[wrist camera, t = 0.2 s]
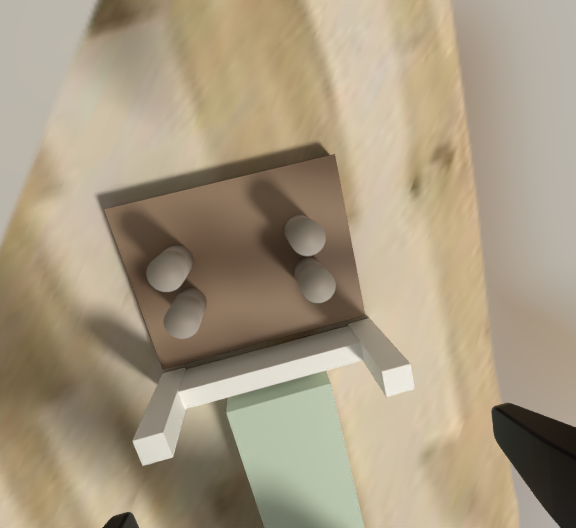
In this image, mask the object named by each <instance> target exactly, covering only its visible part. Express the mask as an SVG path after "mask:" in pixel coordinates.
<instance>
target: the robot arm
mask: <svg viewBox="0 0 576 528" xmlns="http://www.w3.org/2000/svg"><path fill="white" fill-rule="evenodd" d="M492 422H493V431H494V436H495V439H496V441H497V443H498V445H499V446H500V448H501V449H502V450H503V452H504V453H505V455H506V456H507V457H508V459H509V460H510V462H511V463H512V464H513V466H514V467H515V469H516V470H517V471H518V473H519V474H520V475H521V477H522V478H523V480H524V481H525V483H526V484H527V485H528V487H529V488H530V489H531V491H532V492H533V494H534V495H535V496H536V498H537V499H538V500H539V502H540V503H541V504H542V506H543V507H544V508H545V510H546V511H547V512H548V513H549V514H550V516H551V517H552V518H553V519H554V520H555V522H556V523H557V524H558V525H559V526H560V528H576V427H573V426H571V425H568V424H565V423H563V422H560V421H557V420H554V419H552V418H549V417H546V416H544V415H541V414H538V413H535V412H533V411H530V410H527V409H525V408H522V407H520V406H517V405H514V404H511V403H504V404H500V405H497V406H494V407H493V408H492ZM103 528H139V526H138V524H137V522H136V520H135V517H134V515H133V514H132V513H131V512H126V513H122V514H119V515H115V516H113V517H112V518H111V519H110V520H109V521H108V522H107V523H106V524H105V525H104V527H103Z"/></svg>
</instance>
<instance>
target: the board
mask: <svg viewBox="0 0 576 528" xmlns="http://www.w3.org/2000/svg"><path fill="white" fill-rule="evenodd" d="M226 414H227V417H228V420H229V423H230V426H231V429H232V432H233V435H234V438H235V441H236V444H237V447H238V450H239V453H240V456H241V459H242V462H243V465H244V468H245V471H246V474H247V477H248V480H249V483H250V486H251V489H252V492H253V495H254V498H255V501H256V504H257V507H258V510H259V513H260V517H261V520H262V523H263V526H264V528H364V524H363V520H362V515H361V511H360V507H359V502H358V498H357V494H356V489H355V485H354V481H353V477H352V472H351V468H350V464H349V459H348V455H347V451H346V446H345V442H344V438H343V433H342V429H341V425H340V421H339V416H338V412H337V408H336V403H335V399H334V395H333V390H332V386H331V382H330V380H329V378H328V375H327V373H326V371H322V372H319V373H315V374H311V375H308V376H304V377H300V378H297V379H293V380H289V381H286V382H282V383H279V384H275V385H271V386H268V387H264V388H260V389H257V390H253V391H249V392H246V393H242V394H239V395H235V396H231V397H228V398H227V409H226Z"/></svg>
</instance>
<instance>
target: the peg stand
mask: <svg viewBox="0 0 576 528" xmlns="http://www.w3.org/2000/svg"><path fill="white" fill-rule="evenodd" d="M104 211H105V214H106V217H107V219H108V222H109V225H110V227H111V230H112V233H113V236H114V238H115V241H116V244H117V246H118V249H119V252H120V255H121V257H122V260H123V263H124V266H125V268H126V271H127V274H128V276H129V279H130V282H131V285H132V287H133V290H134V293H135V295H136V298H137V301H138V304H139V306H140V309H141V312H142V314H143V317H144V320H145V323H146V325H147V328H148V331H149V334H150V336H151V339H152V342H153V344H154V347H155V350H156V353H157V355H158V358H159V361H160V363H161V366H162V369H166V368H170V367H174V366H178V365H181V364H185V363H189V362H193V361H196V360H200V359H204V358H207V357H211V356H215V355H219V354H222V353H226V352H230V351H234V350H237V349H241V348H245V347H249V346H252V345H256V344H260V343H263V342H267V341H271V340H275V339H278V338H282V337H286V336H290V335H293V334H297V333H301V332H305V331H308V330H312V329H316V328H320V327H323V326H327V325H331V324H334V323H338V322H342V321H346V320H349V319H353V318H357V317H361V316H364V315H365V311H364V306H363V301H362V295H361V290H360V285H359V280H358V274H357V269H356V264H355V258H354V253H353V248H352V242H351V237H350V232H349V227H348V221H347V216H346V211H345V205H344V200H343V195H342V189H341V184H340V179H339V174H338V168H337V163H336V158H335V154H333V155H329V156H325V157H321V158H316V159H312V160H308V161H304V162H300V163H296V164H291V165H287V166H283V167H279V168H275V169H271V170H266V171H262V172H258V173H254V174H250V175H246V176H241V177H237V178H233V179H229V180H225V181H220V182H216V183H212V184H208V185H204V186H200V187H195V188H191V189H187V190H183V191H179V192H175V193H170V194H166V195H162V196H158V197H154V198H150V199H145V200H141V201H137V202H133V203H129V204H125V205H120V206H116V207H112V208H108V209H104Z"/></svg>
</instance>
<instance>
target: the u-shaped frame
mask: <svg viewBox="0 0 576 528" xmlns="http://www.w3.org/2000/svg"><path fill="white" fill-rule="evenodd" d="M362 360H363V362H364V363H365V365H366V366H367V368H368V369H369V371H370V372H371V374H372V375H373V377H374V379H375V380H376V382H377V383H378V385H379V386H380V388H381V389H382V391H383V392H384V394H385V396H386V397H389V396H392V395H396V394H399V393H403V392H407V391H410V390H414V383H413V377H412V370H411V364H410V363H409V362H408V360H407V359H406V358H405V357H404V356H403V355H402V354H401V353H400V351H399V350H398V349H397V348H396V347H395V346H394V345H393V344H392V343H391V341H390V340H389V339H388V338H387V337H386V336H385V335H384V334H383V333H382V331H381V330H380V329H379V328H378V327H377V326H376V325H375V324H374V323H373V321H372V320H371V319H370V318H367V319H363V320H360V321H356V322H352V323H349V324H348V326H345V327H342V328H338V329H334V330H330V331H327V332H323V333H319V334H316V335H312V336H308V337H304V338H301V339H297V340H293V341H289V342H286V343H282V344H278V345H275V346H271V347H267V348H263V349H260V350H256V351H252V352H249V353H245V354H241V355H237V356H234V357H230V358H226V359H222V360H219V361H215V362H211V363H208V364H204V365H200V366H196V367H193V368H189V369H186V368H181V369H177V370H173V371H170V372H166V373H162V376H161V378H160V380H159V382H158V385H157V387H156V389H155V391H154V393H153V396H152V398H151V400H150V402H149V405H148V407H147V409H146V411H145V414H144V416H143V418H142V420H141V423H140V425H139V427H138V429H137V432H136V434H135V436H134V438H133V440H132V441H133V444H134V446H135V449H136V451H137V453H138V456H139V458H140V461H141V463H142V465H143V466H144V465H148V464H151V463H155V462H158V461H162V460H166V459H169V458H173V456H174V452H175V448H176V445H177V441H178V437H179V434H180V430H181V426H182V423H183V419H184V415H185V412H186V409H188V408H191V407H195V406H199V405H202V404H206V403H209V402H213V401H217V400H220V399H224V398H228V397H231V396H235V395H239V394H242V393H246V392H249V391H253V390H257V389H260V388H264V387H268V386H271V385H275V384H279V383H282V382H286V381H289V380H293V379H297V378H300V377H304V376H308V375H311V374H315V373H319V372H322V371H326V370H329V369H333V368H337V367H340V366H344V365H348V364H351V363H355V362H359V361H362Z"/></svg>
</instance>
